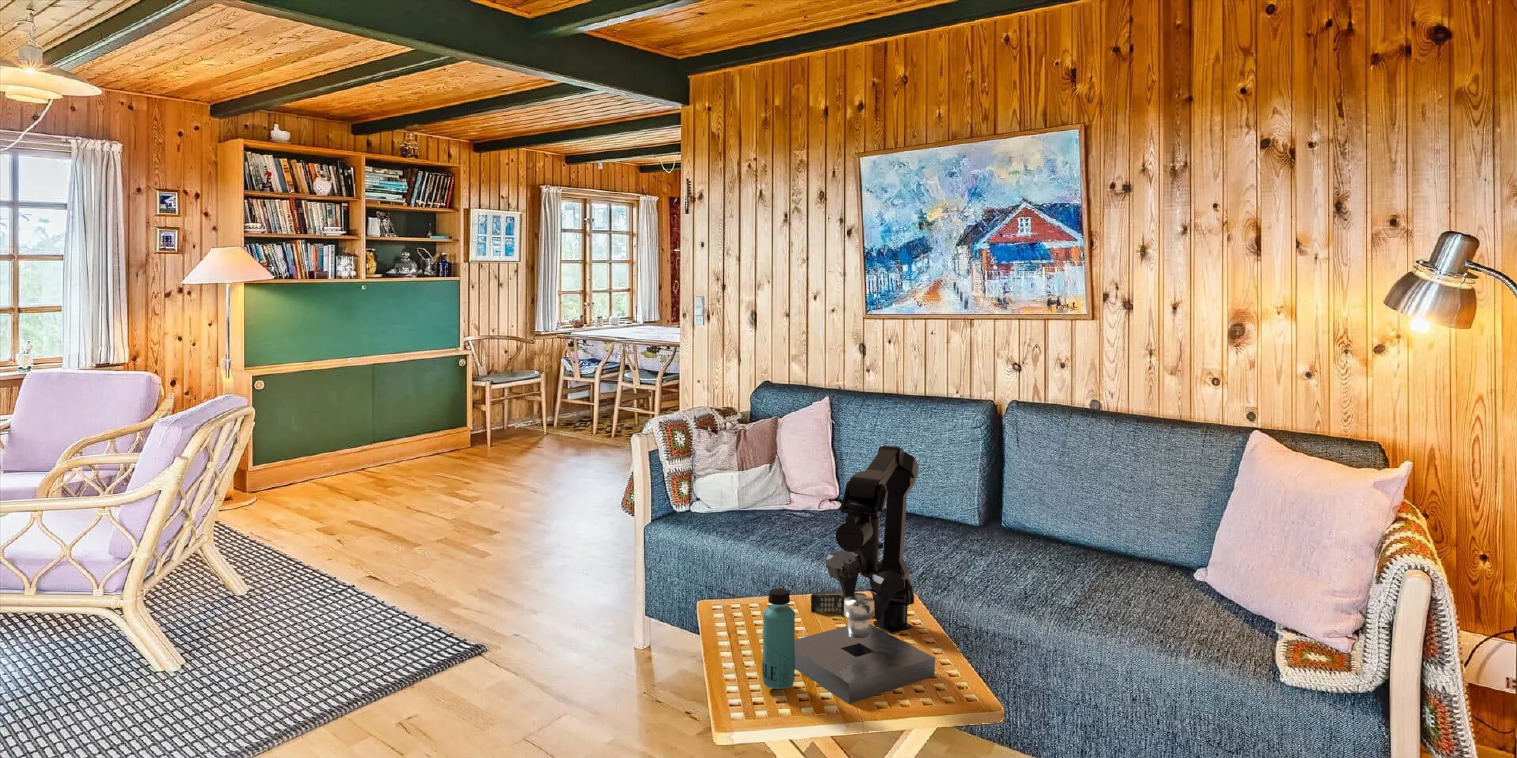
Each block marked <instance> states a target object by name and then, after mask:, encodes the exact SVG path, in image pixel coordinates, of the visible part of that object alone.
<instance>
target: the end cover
mask: <svg viewBox="0 0 1517 758" xmlns="http://www.w3.org/2000/svg"><path fill="white" fill-rule="evenodd" d="M866 596H867V595H866ZM866 596H861V595H853V596H848V597H846V598H845V599H844V613H843V616H844V617H845V618H846V619H847V626H848V629H847V634H848V635H849V636H850V637H853V638H866V637H868V636H869V624H870V620H872V619H873V618H874V615H875V613H874V600H873V597H869V596H867V597H866Z"/></svg>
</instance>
